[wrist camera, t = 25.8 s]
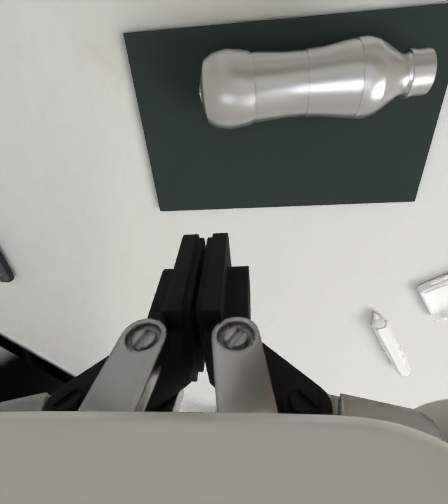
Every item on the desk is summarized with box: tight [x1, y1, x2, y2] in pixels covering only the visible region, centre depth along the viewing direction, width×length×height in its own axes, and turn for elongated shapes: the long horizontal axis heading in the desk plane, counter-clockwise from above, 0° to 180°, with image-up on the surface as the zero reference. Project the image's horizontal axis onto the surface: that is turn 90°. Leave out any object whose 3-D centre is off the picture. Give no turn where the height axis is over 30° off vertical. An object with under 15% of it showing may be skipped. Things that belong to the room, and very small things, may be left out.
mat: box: [123, 4, 448, 211], centre depth 35 cm, size 19×31×1 cm, turn 95°
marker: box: [371, 311, 411, 377], centre depth 53 cm, size 3×2×16 cm
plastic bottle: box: [199, 35, 437, 129], centre depth 30 cm, size 6×7×20 cm
